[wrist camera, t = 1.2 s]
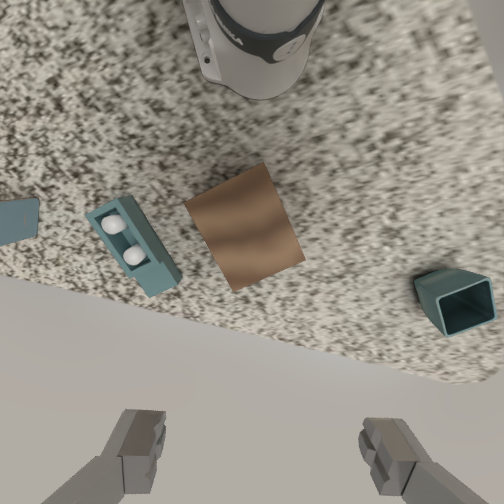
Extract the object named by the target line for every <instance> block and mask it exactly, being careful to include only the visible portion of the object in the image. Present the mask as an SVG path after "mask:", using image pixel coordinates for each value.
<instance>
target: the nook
mask: <svg viewBox="0 0 504 504" xmlns="http://www.w3.org/2000/svg"><path fill="white" fill-rule="evenodd" d="M184 205H185V207H186V208H187V210H188V212H189V214H190V215H191V217H192V219H193V221H194V223H195V224H196V226H197V228H198V230H199V232H200V233H201V235H202V237H203V239H204V240H205V242H206V244H207V246H208V248H209V249H210V251H211V253H212V255H213V257H214V258H215V260H216V262H217V264H218V265H219V267H220V269H221V271H222V273H223V274H224V276H225V278H226V280H227V281H228V283H229V285H230V287H231V289H232V290H233V292H235V291H237V290H239V289H242V288H244V287H246V286H248V285H251V284H253V283H255V282H257V281H260V280H262V279H264V278H266V277H269V276H271V275H273V274H275V273H278V272H280V271H282V270H285V269H287V268H289V267H291V266H294V265H296V264H298V263H300V262H303V261H305V260H306V259H305V257H304V254H303V252H302V250H301V247H300V245H299V243H298V240H297V238H296V236H295V233H294V231H293V229H292V226H291V224H290V222H289V219H288V217H287V215H286V212H285V210H284V208H283V205H282V203H281V201H280V199H279V196H278V194H277V192H276V189H275V187H274V185H273V182H272V180H271V178H270V175H269V173H268V171H267V168H266V166H265V164H264V162H263V163H261V164H259V165H257V166H255V167H253V168H251V169H249V170H247V171H245V172H243V173H241V174H239V175H237V176H235V177H233V178H231V179H229V180H227V181H225V182H223V183H221V184H219V185H217V186H215V187H213V188H212V189H210V190H208V191H206V192H204V193H202V194H200V195H198V196H196V197H194V198H192V199H190V200H188V201H186V202H184Z"/></svg>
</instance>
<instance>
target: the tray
mask: <svg viewBox="0 0 504 504" xmlns="http://www.w3.org/2000/svg"><path fill="white" fill-rule="evenodd" d="M85 216H86V218H87V219H88V221H89V222H90V223H91V225H92V226H93V228H94V229H95V231H96V232H97V233H98V235H99V236H100V238H101V239H102V241H103V242H104V243H105V245H106V246H107V248H108V249H109V250H110V252H111V253H112V255H113V256H114V258H115V259H116V260H117V262H118V263H119V265H120V266H121V268H122V269H123V270H124V272H125V273H126V275H127V276H128V277H129V279H130V278H132V277H135V278H136V280H137V281H138V282H139V284H140V285H141V287H142V288H143V290H144V291H145V293H146V294H147V295H148V297H149V298H150V297H152V296H155V295H157V294H159V293H161V292H163V291H165V290H168V289H170V288H172V287H174V286H176V285H178V284H179V282H180V281H181V279H182V277H183V276H182V275H181V273H180V271H179V270H178V268H177V267H176V265H175V263H174V262H173V260H172V259H171V257H170V255H169V254H168V252H167V251H166V249H165V247H164V246H163V244H162V243H161V241H160V239H159V238H158V236H157V235H156V233H155V231H154V230H153V228H152V227H151V225H150V223H149V222H148V220H147V218H146V217H145V215H144V214H143V212H142V210H141V209H140V207H139V206H138V204H137V202H136V201H135V199H134V198H133V196H127V197H121V198H116V199H114V200H113V201H111V202H109V203H107V204H105V205H103V206H101V207H99V208H97V209H95V210H94V211H92V212H90V213H88V214H86V215H85Z"/></svg>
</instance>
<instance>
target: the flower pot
mask: <svg viewBox="0 0 504 504" xmlns="http://www.w3.org/2000/svg"><path fill="white" fill-rule="evenodd" d="M414 284H415V287H416V290H417V293H418V297H419V300H420V304H421V306H422V309H423V311H424V313H425V314H426V316H427V317H428V319H429V320H430V321H431V322H432V323H433V324H434V325H435V326H436V327H437V328H438V329H439V330H440V332H441V333H442V334H443V335H444V336H445V337H447V338H448V337H452V336H454V335H457V334H460V333H462V332H465V331H467V330H470V329H473V328H476V327H478V326H481V325H484V324H486V323H489V322H492V321H494V320H496V319H497V310H496V306H495V301H494V294H493V289H492V282H491V279H490V277H486V276H483V275H480V274H476V273H473V272H469V271H466V270H462V269H442V270H437V271H434V272H432V273H430V274H427V275H425V276H422V277H420V278H417V279H415V280H414Z"/></svg>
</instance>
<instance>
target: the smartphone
mask: <svg viewBox="0 0 504 504" xmlns="http://www.w3.org/2000/svg"><path fill="white" fill-rule="evenodd" d="M38 217H39V200H38V199H37V198H34V197H33V198H23V199H13V200H4V201H0V246H3V245H6V244H10V243H13V242H17V241H20V240H24V239H27V238H31V237H34V236H36V234H37V232H38Z"/></svg>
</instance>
